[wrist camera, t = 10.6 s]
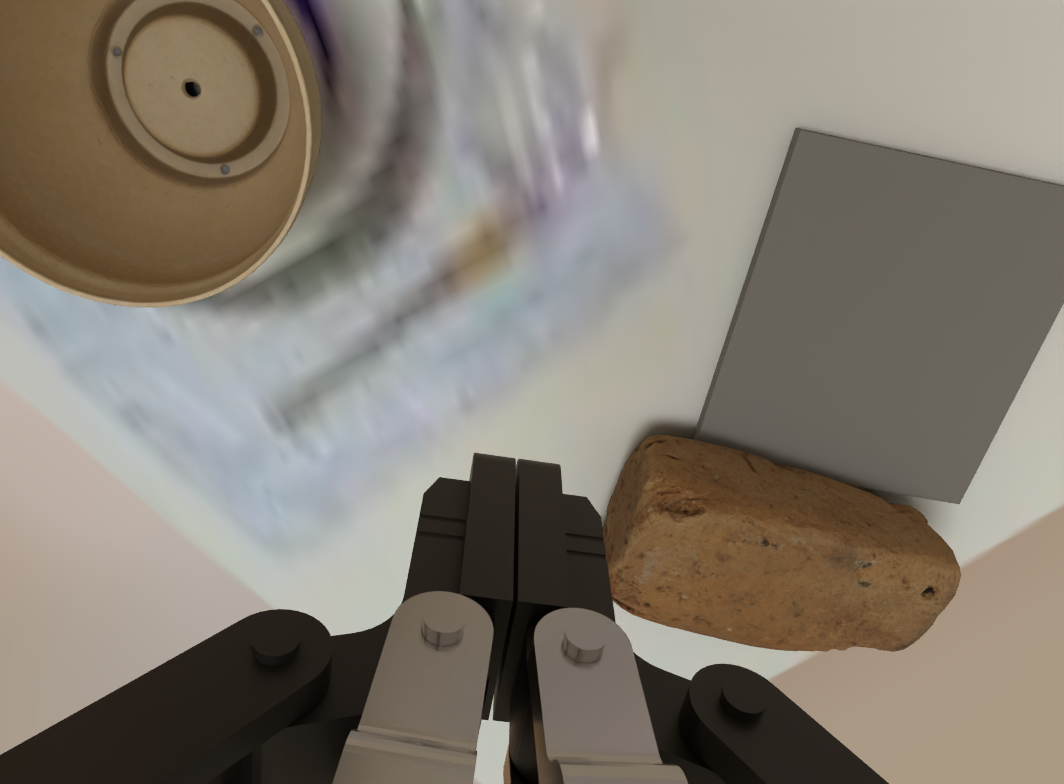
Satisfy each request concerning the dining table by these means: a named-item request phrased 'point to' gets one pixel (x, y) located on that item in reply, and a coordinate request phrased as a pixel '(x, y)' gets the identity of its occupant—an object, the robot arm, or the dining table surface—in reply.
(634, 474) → the block
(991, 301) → the flat gray panel
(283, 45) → the planter bowl
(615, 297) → the dining table surface
